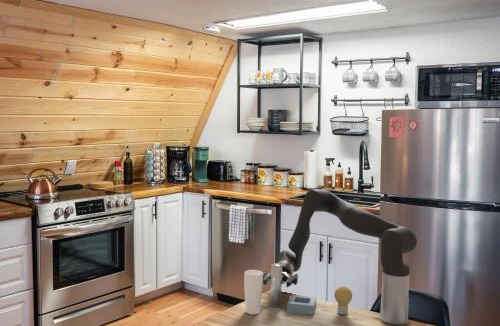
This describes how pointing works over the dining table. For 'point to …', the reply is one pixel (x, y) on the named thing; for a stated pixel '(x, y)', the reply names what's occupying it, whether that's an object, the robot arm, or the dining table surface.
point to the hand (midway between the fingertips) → (276, 283)
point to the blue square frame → (301, 304)
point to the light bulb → (343, 299)
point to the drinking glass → (253, 291)
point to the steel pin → (276, 285)
